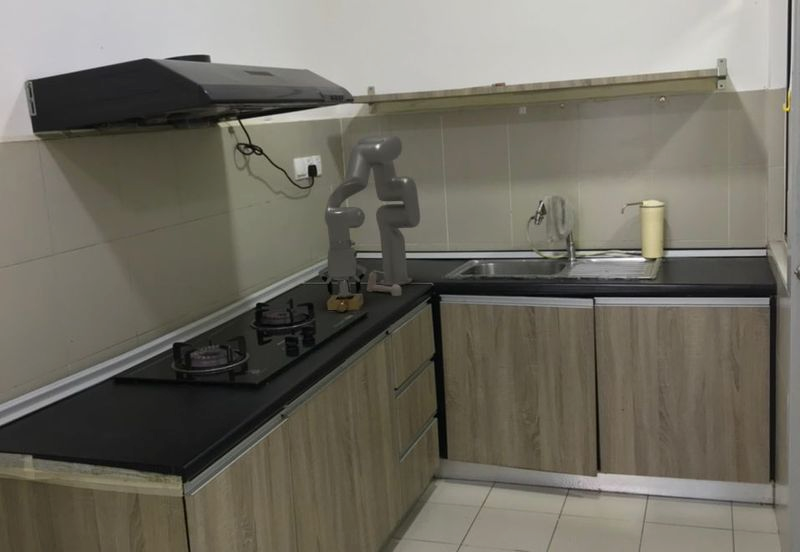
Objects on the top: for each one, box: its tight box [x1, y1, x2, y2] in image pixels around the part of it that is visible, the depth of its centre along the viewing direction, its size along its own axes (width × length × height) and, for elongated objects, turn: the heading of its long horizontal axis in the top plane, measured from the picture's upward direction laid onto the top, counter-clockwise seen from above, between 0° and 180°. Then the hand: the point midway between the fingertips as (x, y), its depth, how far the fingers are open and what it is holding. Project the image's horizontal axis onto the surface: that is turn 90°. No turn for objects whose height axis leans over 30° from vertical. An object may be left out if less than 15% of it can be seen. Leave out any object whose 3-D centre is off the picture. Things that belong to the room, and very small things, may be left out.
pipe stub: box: [337, 278, 352, 300], centre depth 302 cm, size 4×4×10 cm
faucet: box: [366, 270, 402, 297], centre depth 322 cm, size 4×18×10 cm, turn 41°
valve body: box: [326, 292, 364, 312], centre depth 302 cm, size 19×11×4 cm, turn 175°
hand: (344, 293), depth 302 cm, fingers open, 9 cm apart
